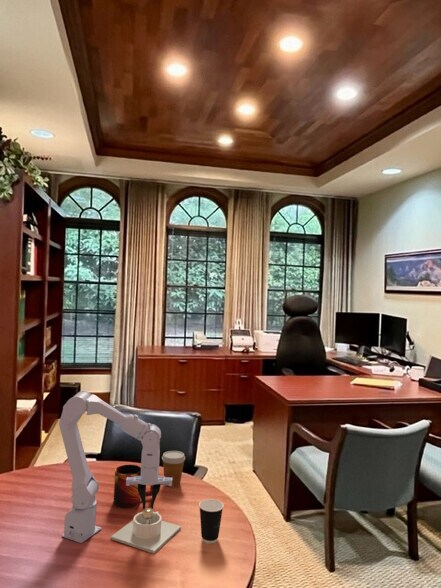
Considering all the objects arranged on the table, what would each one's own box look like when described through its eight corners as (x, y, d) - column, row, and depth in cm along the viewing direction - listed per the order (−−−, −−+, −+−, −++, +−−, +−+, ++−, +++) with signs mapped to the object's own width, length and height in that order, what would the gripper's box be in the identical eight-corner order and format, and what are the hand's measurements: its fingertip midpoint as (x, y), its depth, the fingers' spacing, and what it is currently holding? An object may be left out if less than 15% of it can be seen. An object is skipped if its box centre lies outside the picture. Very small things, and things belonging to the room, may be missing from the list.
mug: (154, 498, 165) (155, 466, 165) (125, 511, 154) (126, 477, 154) (136, 490, 171) (138, 459, 171) (107, 502, 160) (109, 469, 160)
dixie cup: (223, 546, 135) (224, 510, 135) (197, 546, 135) (199, 510, 135) (221, 532, 143) (222, 498, 143) (196, 532, 142) (198, 498, 143)
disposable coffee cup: (157, 481, 180) (159, 451, 180) (179, 477, 184) (180, 449, 184) (164, 490, 172) (166, 460, 172) (187, 487, 176) (188, 457, 176)
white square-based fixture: (154, 553, 130) (155, 536, 130) (110, 539, 136) (111, 522, 136) (181, 528, 144) (181, 513, 144) (140, 516, 151) (141, 502, 151)
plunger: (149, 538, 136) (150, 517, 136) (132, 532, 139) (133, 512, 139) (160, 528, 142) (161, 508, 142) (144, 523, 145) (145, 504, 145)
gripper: (173, 460, 145) (171, 501, 145) (128, 460, 144) (126, 501, 144) (172, 468, 138) (170, 512, 138) (126, 468, 137) (124, 512, 137)
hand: (148, 507), depth 140 cm, fingers closed
